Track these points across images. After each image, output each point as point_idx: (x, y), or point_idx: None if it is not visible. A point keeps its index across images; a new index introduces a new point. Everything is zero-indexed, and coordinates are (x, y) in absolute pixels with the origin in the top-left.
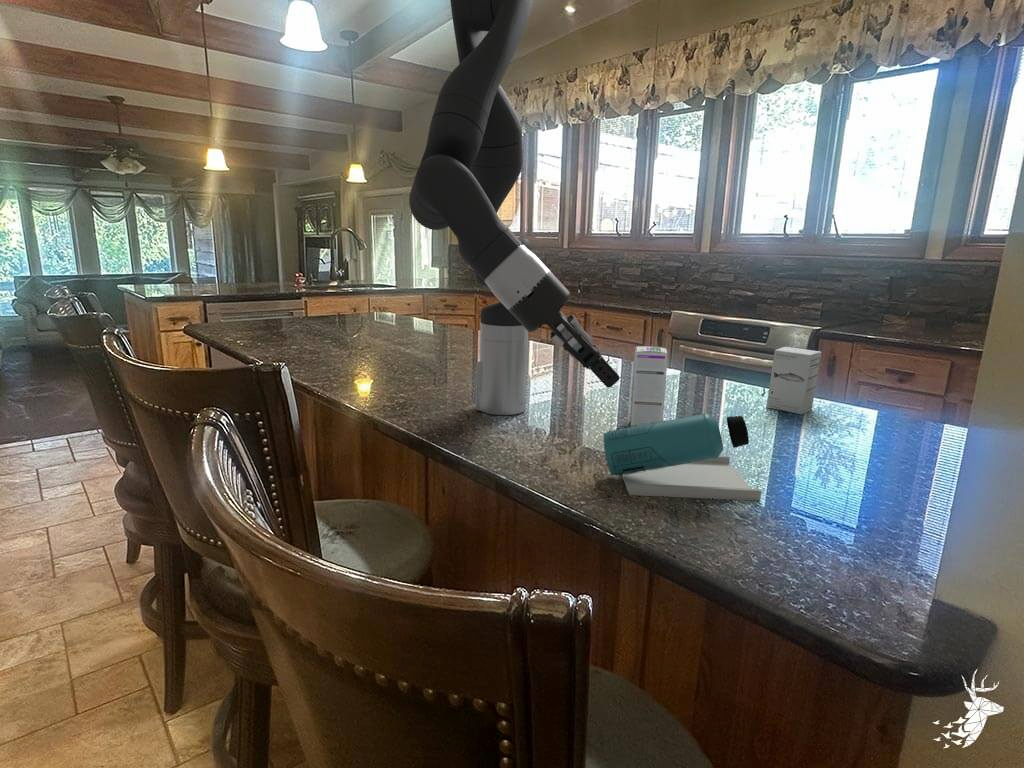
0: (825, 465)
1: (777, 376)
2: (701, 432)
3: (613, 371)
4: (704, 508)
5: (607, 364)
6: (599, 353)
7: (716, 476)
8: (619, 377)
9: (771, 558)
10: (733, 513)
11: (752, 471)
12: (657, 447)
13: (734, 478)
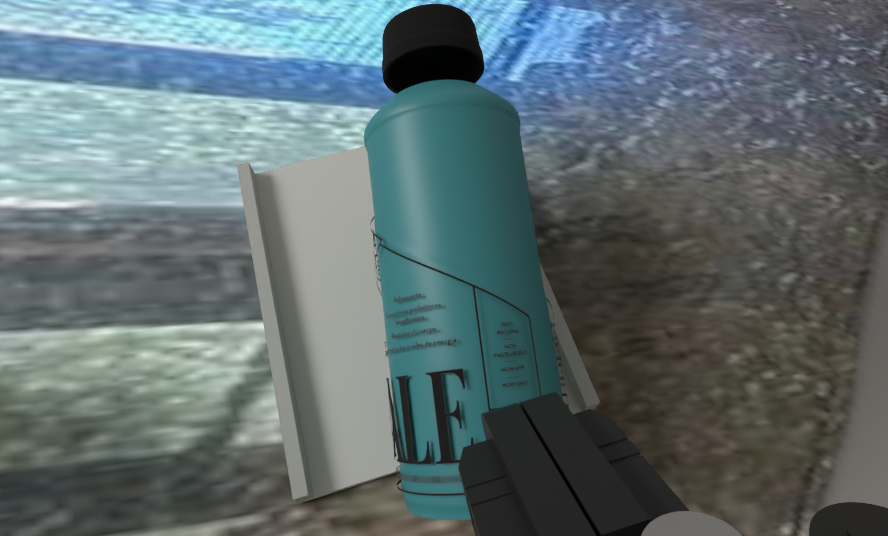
0: (190, 3)
1: None
2: (515, 137)
3: (582, 427)
4: (577, 226)
5: (611, 473)
6: (886, 520)
7: (369, 200)
8: (553, 392)
9: (743, 119)
10: (572, 172)
11: (280, 131)
12: (544, 294)
13: (367, 163)
